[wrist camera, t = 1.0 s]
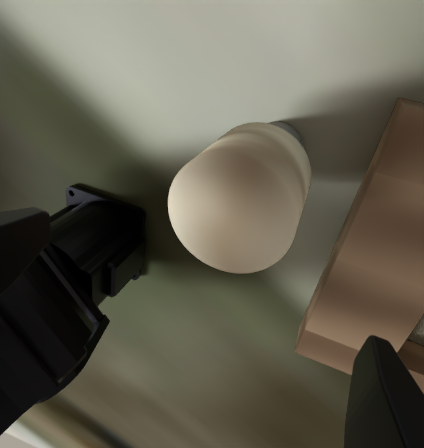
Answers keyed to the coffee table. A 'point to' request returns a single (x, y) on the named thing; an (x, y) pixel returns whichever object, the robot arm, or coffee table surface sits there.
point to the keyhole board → (376, 257)
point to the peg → (242, 197)
